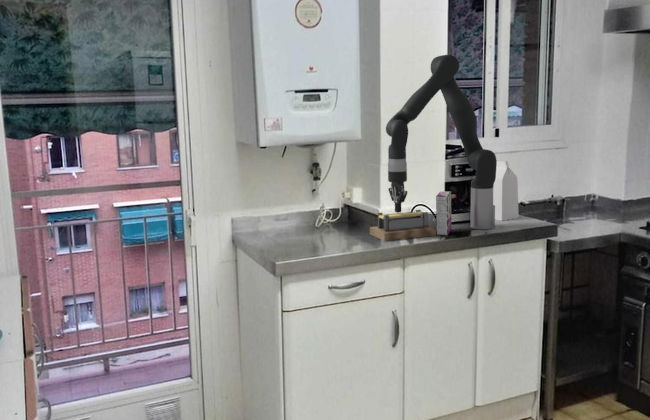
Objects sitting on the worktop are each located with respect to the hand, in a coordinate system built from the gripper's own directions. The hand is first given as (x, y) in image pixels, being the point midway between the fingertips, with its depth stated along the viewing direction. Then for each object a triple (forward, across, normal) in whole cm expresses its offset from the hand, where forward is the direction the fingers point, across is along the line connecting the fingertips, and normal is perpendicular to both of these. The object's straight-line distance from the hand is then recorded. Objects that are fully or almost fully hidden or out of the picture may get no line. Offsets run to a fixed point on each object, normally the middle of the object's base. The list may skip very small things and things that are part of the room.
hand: (398, 212), depth 246 cm
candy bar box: (+10, -4, -19) cm, 22 cm away
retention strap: (+2, 0, -2) cm, 3 cm away
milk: (+10, +12, -58) cm, 60 cm away
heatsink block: (+7, 0, -2) cm, 7 cm away
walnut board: (+10, 0, -2) cm, 10 cm away
